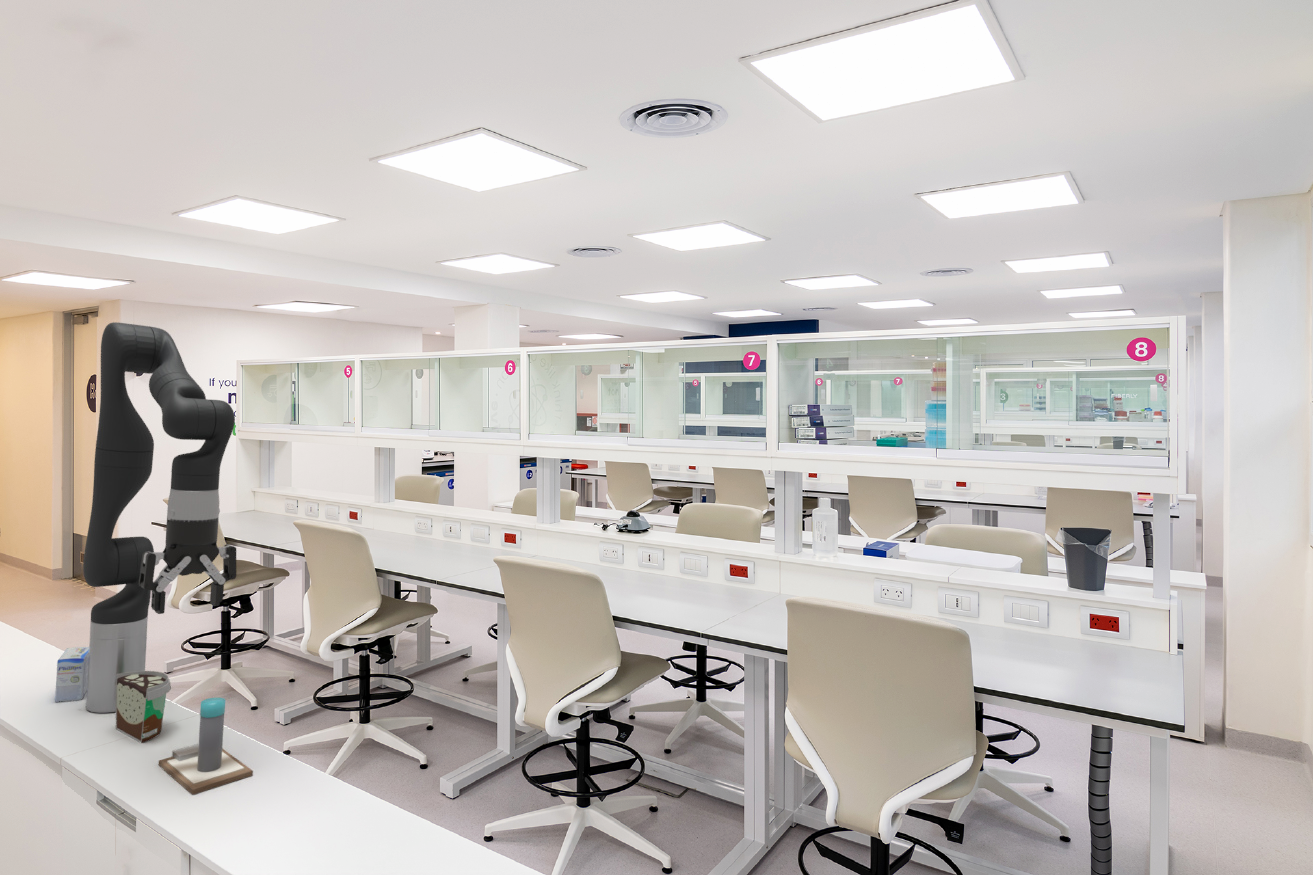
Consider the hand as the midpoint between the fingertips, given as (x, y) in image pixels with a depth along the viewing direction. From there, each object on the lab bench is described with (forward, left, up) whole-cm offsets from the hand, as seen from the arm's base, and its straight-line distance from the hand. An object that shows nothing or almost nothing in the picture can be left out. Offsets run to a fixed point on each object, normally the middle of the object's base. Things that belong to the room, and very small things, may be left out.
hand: (187, 608), depth 127 cm
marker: (+10, +1, -25) cm, 26 cm away
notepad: (+8, +1, -26) cm, 27 cm away
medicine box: (-43, -4, -26) cm, 50 cm away
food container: (-15, 0, -26) cm, 30 cm away
